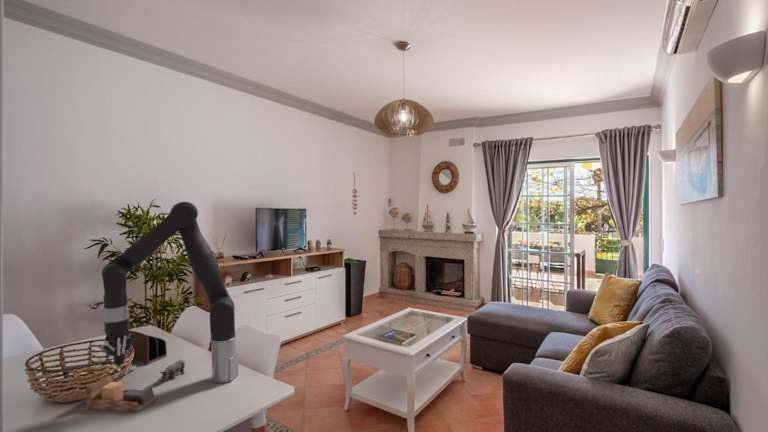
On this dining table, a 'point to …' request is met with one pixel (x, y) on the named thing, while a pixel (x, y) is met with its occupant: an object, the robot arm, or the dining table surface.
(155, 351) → the letter holder
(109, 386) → the block
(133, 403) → the wooden tray
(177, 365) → the rhino figurine
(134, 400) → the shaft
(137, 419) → the dining table surface
